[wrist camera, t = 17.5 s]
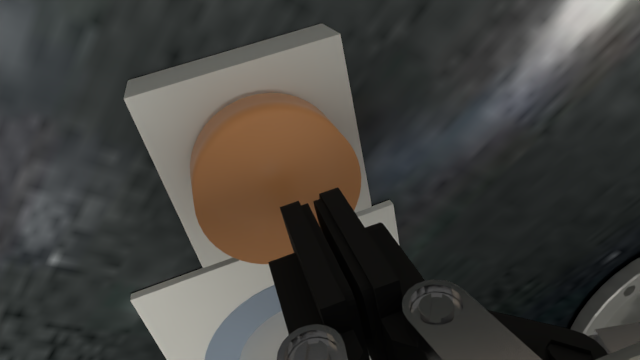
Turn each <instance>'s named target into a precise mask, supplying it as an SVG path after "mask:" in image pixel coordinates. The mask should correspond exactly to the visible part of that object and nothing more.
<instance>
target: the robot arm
mask: <svg viewBox="0 0 640 360" xmlns="http://www.w3.org/2000/svg"><path fill="white" fill-rule="evenodd" d="M319 198H320V199H318V200H315V201H314V207H315V210H316V214H317V218H318V222H319V224H318V222H317V220H316V218H315V216H314V214H313V212H312V210H311V208H310V206H309V204H308V203H307V204H304V205H301V204H300V202H299V201H296V202H293V203H290V204H287V205H284V206H282V207H280V210H281V213H282V217H283V220H284V223H285V226H286V229H287V232H288V235H289V239H290V242H291V245H292V248H293V251H294V253H292V254H290V255H287V256H284V257H281V258H278V259H276V260H273V261H270V262H268V263H269V267H270V271H271V274H272V278H273V281H274V285H275V288H276V292H277V295H278V299H279V302H280V306H281V309H282V313H283V316H284V320H285V323H286V327H287V330H288V334H289V335H288V336H287V337H286V339H285V340H284V341H283V342H282V344H281V346H280V348H279V350H278V353H277V360H370V358H371V360H640V257H639V258H637V259H636V260H634V261H632V262H631V263H629V264H628V265H626V266H625V267H624V268H622V269H621V270H620V271H618V272H617V273H616V274H614V275H613V276H612V277H611V278H610V279H609V280H608V281H607V282H605V283H604V284H603V285H602V286H601V287H600V288H599V289H598V290H597V291H596V293H595V294H594V295H593V296H592V297H591V298H590V299H589V300H588V302H587V303H586V304H585V306H584V307H583V308H582V310H581V311H580V312H579V314H578V316H577V317H576V319H575V321H574V323H573V324H572V326H571V329H567V328H563V327H559V326H554V325H550V324H546V323H541V322H537V321H533V320H528V319H524V318H519V317H515V316H511V315H506V314H502V313H498V312H493V311H489V310H486V309H485V308H484V307H483V306H482V305H480V304H479V303H478V302H477V301H476V300H475V299H474V298H473V297H471V296H470V295H469V294H468V293H467V292H466V291H465V290H464V289H462V288H461V287H459V286H458V285H456V284H455V283H452V282H449V281H446V280H437V279H434V280H426V281H425V280H424V279H423V277H422V276H421V275H420V273H419V272H418V271H417V269H416V268H415V266H414V265H413V264H412V262H411V261H410V260H409V258H408V257H407V255H406V254H405V253H404V251H403V250H402V249H401V247H400V246H399V245H398V243H397V242H396V240H395V239H394V238H393V236H392V235H391V234H390V232H389V231H388V230H387V228H386V227H385V226H384V224H383V223H381V222H380V223H377V224H374V225H371V226H368V227H364V226H363V224H362V222H361V221H360V219H359V218H358V216H357V215H356V213H355V212H354V210H353V209H352V207H351V206H350V204H349V203H348V201H347V200H346V198H345V197H344V195H343V194H342V192H341V191H340V189H339V188H338V187H337V188H334V189H331V190H329V191H326V192H323V193H320V194H319ZM319 225H320V226H319ZM369 356H370V357H369Z"/></svg>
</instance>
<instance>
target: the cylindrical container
mask: <svg viewBox="0 0 640 360" xmlns="http://www.w3.org/2000/svg"><path fill="white" fill-rule="evenodd" d="M288 335H289V334H288V330H287V327H286V323H285V320H284V316H283V313H282V311H280V312H278V313H277V314H275V315H273V316H272V317H270V318H269V319H267V320H266V321H265V322H264V323H263V324H261V325H260V326H259V327H258V328H257V329H256V330H255V331H254V333H253V334H252V335H251V336H250V337H249V338H248V340H247V342H246V344H245V345H244V347H243V349H242V352H241V356H240V359H239V360H277V353H278V350H279V348H280V346H281V344H282V342H283V341H284V340H285V339H286V337H287V336H288ZM369 357H370V356H369ZM370 360H371V358H370Z"/></svg>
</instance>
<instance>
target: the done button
mask: <svg viewBox="0 0 640 360" xmlns="http://www.w3.org/2000/svg"><path fill="white" fill-rule="evenodd" d="M190 177H191V186H192V194H193V202H194V209H195V214H196V217H197V220H198V223H199V225H200V227H201V229H202V231H203V233H204V234H205V235H206V237H207V238H208V239H209V241H210V242H211V243H213V244H214V245H215V246H216V247H217V248H218V249H220V250H221V251H222V252H224V253H226V254H227V255H229V256H231V257H233V258H236V259H239V260H241V261H245V262H249V263H256V264H269V263H268V262H270V261H273V260H276V259H278V258H281V257H284V256H287V255H290V254H292V253H294V251H293V248H292V245H291V242H290V239H289V235H288V232H287V229H286V226H285V223H284V220H283V217H282V213H281V210H280V207H282V206H284V205H287V204H290V203H293V202H296V201H299V202H300V204H301V205H304V204H307V203H308V204H309V206H310V208H311V210H312V212H313V214H314V216H315V218H316V220H317V222H318V218H317V214H316V210H315V207H314V201H315V200H318V199H320V198H319V194H320V193H323V192H326V191H329V190H331V189H334V188H337V187H338V188H339V189H340V191H341V192H342V194H343V195H344V197H345V198H346V200H347V201H348V203H349V204H350V206H351V207H352V209H353V210H355V207H356V205H357V202H358V199H359V196H360V190H361V170H360V165H359V161H358V158H357V156H356V154H355V151H354V149H353V148H352V146H351V145H350V143H349V142H348V141H347V140H346V138H345V137H344V136H343V135H342V134H341V133H340V132H339V130H338V129H337V128H336V127H335V126H334V125H333V124H332V123H331V121H330V120H329V119H328V118H327V117H326V116H325V115H324V114H323V112H321V111H320V110H319V109H318V108H317V107H316V106H314V105H312V104H311V103H309V102H308V101H305V100H303V99H301V98H299V97H295V96H292V95H288V94H281V93H263V94H256V95H252V96H248V97H245V98H242V99H239V100H237V101H235V102H233V103H231V104H229V105H227V106H226V107H224V108H223V109H222V110H220V111H219V112H218V113H217V114H215V115H214V116H213V117H212V118H211V119H210V120H209V121H208V123H207V124H206V125H205V126H204V127H203V129H202V131H201V132H200V134H199V135H198V137H197V140H196V142H195V144H194V147H193V150H192V154H191V160H190ZM318 224H319V222H318ZM319 226H320V225H319Z"/></svg>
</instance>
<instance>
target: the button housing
mask: <svg viewBox="0 0 640 360" xmlns="http://www.w3.org/2000/svg"><path fill="white" fill-rule="evenodd" d="M263 93H281V94H288V95H292V96H295V97H299V98H301V99H303V100H305V101H308V102H309V103H311V104H312V105H314V106H316V107H317V108H318V109H319V110H320V111H321V112H323V114H324V115H325V116H326V117H327V118H328V119H329V120H330V121H331V123H332V124H333V125H334V126H335V127H336V128H337V129H338V130H339V132H340V133H341V134H342V135H343V136H344V137H345V138H346V140H347V141H348V142H349V143H350V145H351V146H352V148H353V149H354V151H355V154H356V156H357V158H358V161H359V165H360V170H361V190H360V196H359V199H358V202H357V205H356V207H355V210H354V212H355V213H356V212H359V211H362V210H365V209H367V208H370V207H372V205H371V199H370V194H369V188H368V183H367V177H366V172H365V166H364V161H363V155H362V150H361V144H360V139H359V133H358V128H357V122H356V117H355V111H354V106H353V100H352V95H351V89H350V84H349V78H348V73H347V67H346V62H345V56H344V51H343V45H342V40H341V35H340V33H338V32H336V31H335V30H333V29H331V28H329V27H328V26H326V25H324V24H322V23H321V24H318V25H314V26H311V27H308V28H304V29H301V30H297V31H294V32H291V33H287V34H284V35H280V36H277V37H274V38H270V39H267V40H263V41H260V42H257V43H253V44H250V45H246V46H243V47H240V48H236V49H233V50H229V51H226V52H223V53H219V54H216V55H212V56H209V57H206V58H202V59H199V60H195V61H192V62H189V63H185V64H182V65H178V66H175V67H172V68H168V69H165V70H161V71H158V72H155V73H151V74H148V75H144V76H141V77H137V78H134V79H131V80H128V81H127V86H126V90H125V95H124V101H125V103H126V105H127V107H128V109H129V111H130V114H131V116H132V118H133V120H134V122H135V124H136V126H137V128H138V131H139V133H140V135H141V137H142V139H143V141H144V143H145V146H146V148H147V150H148V152H149V154H150V156H151V158H152V161H153V163H154V165H155V167H156V169H157V171H158V173H159V175H160V178H161V180H162V182H163V184H164V186H165V188H166V190H167V193H168V195H169V197H170V199H171V201H172V203H173V205H174V208H175V210H176V212H177V214H178V216H179V218H180V220H181V222H182V225H183V227H184V229H185V231H186V233H187V235H188V237H189V240H190V242H191V244H192V246H193V248H194V250H195V252H196V255H197V257H198V259H199V261H200V263H201V265H202V267H203V268H205V267H208V266H211V265H213V264H216V263H219V262H222V261H224V260H227V259H230V258H233V257H231V256H229V255H227V254H226V253H224V252H222V251H221V250H220V249H218V248H217V247H216V246H215V245H214V244H213V243H211V242H210V241H209V239H208V238H207V237H206V235H205V234H204V233H203V231H202V229H201V227H200V225H199V223H198V220H197V217H196V214H195V209H194V202H193V194H192V186H191V177H190V160H191V154H192V150H193V147H194V144H195V142H196V140H197V137H198V135H199V134H200V132H201V131H202V129H203V127H204V126H205V125H206V124H207V123H208V121H209V120H210V119H211V118H212V117H213V116H214V115H215V114H217V113H218V112H219V111H220V110H222V109H223V108H224V107H226V106H227V105H229V104H231V103H233V102H235V101H237V100H239V99H242V98H245V97H248V96H252V95H256V94H263Z"/></svg>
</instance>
